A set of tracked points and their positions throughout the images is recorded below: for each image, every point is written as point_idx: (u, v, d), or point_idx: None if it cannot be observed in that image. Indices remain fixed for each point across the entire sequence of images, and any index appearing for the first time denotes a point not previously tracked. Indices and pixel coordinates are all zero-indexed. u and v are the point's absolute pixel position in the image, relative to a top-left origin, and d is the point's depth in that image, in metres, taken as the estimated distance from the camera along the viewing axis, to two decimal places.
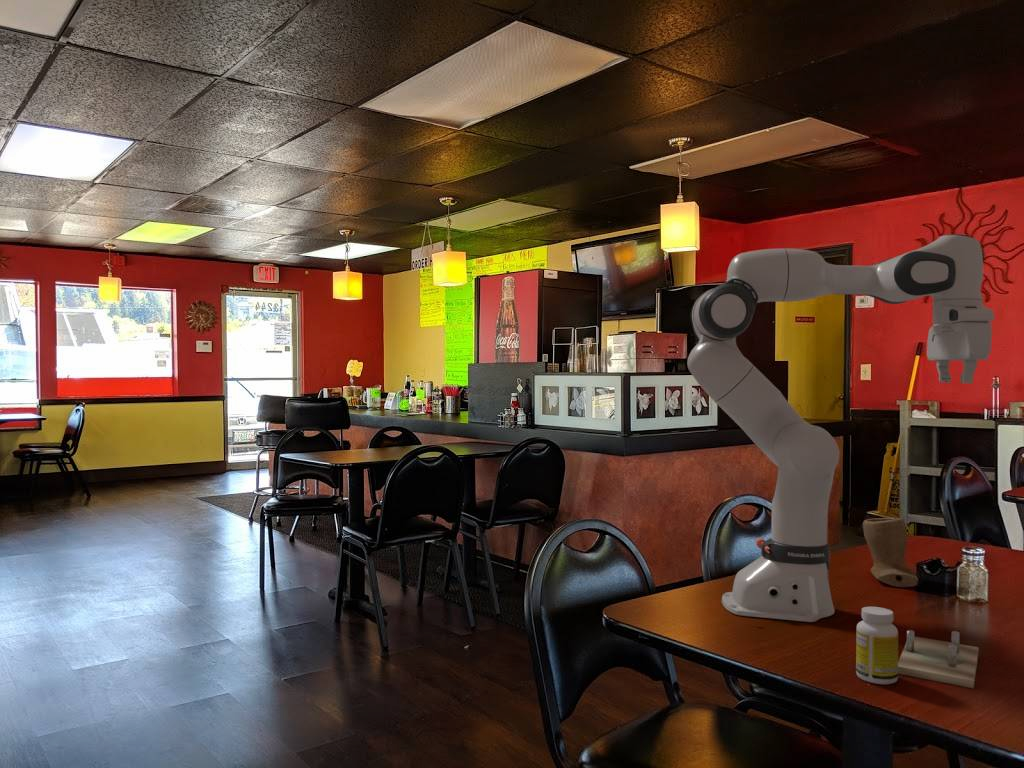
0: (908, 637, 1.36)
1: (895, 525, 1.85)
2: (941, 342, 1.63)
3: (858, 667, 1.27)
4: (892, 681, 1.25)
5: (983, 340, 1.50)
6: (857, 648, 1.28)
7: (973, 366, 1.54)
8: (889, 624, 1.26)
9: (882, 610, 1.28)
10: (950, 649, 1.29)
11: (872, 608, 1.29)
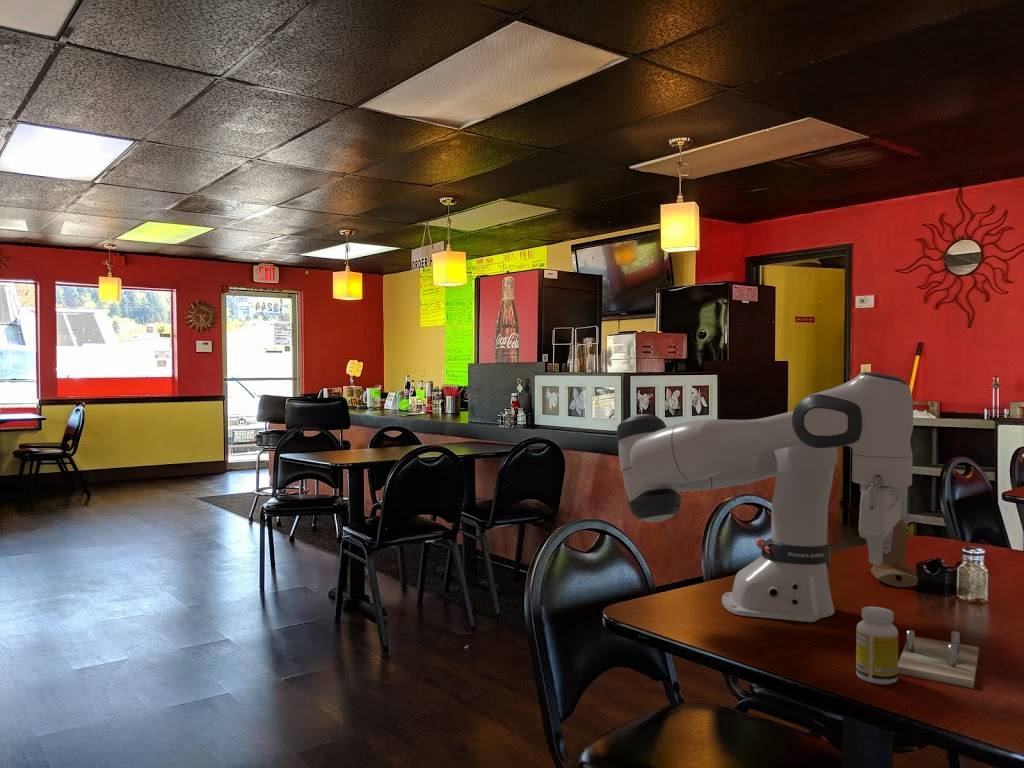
0: (908, 637, 1.36)
1: (895, 525, 1.85)
2: (890, 509, 1.24)
3: (858, 667, 1.27)
4: (892, 681, 1.25)
5: None
6: (857, 648, 1.28)
7: None
8: (889, 624, 1.26)
9: (882, 610, 1.28)
10: (950, 649, 1.29)
11: (872, 608, 1.29)
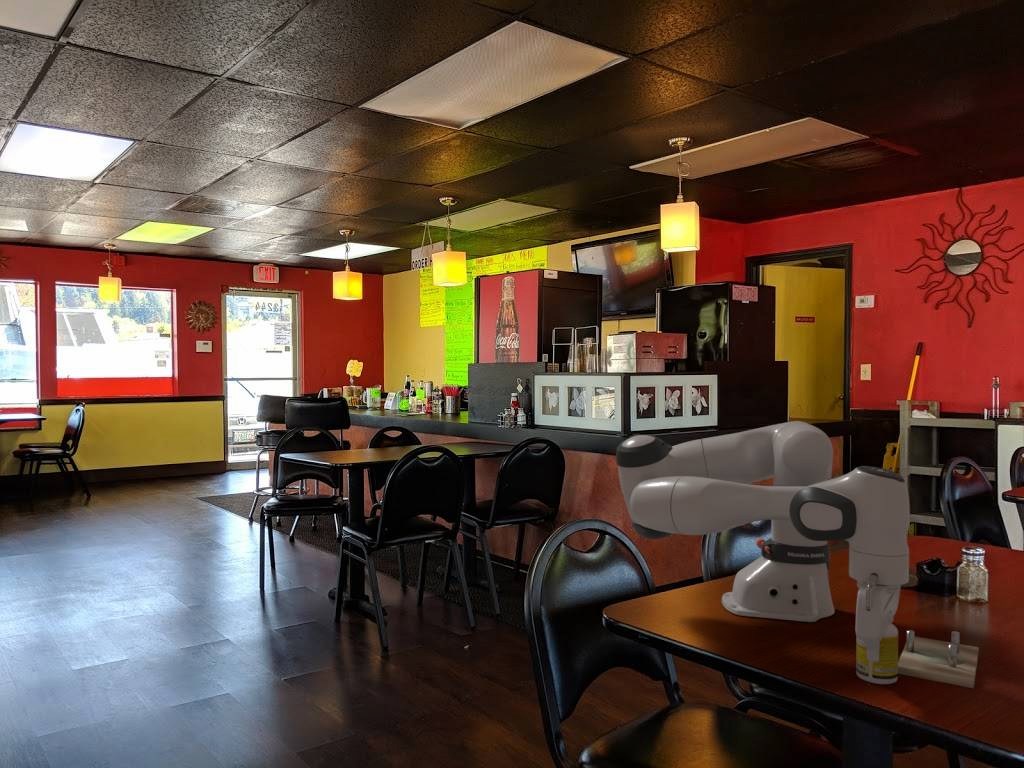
0: (908, 637, 1.36)
1: None
2: (887, 607, 1.24)
3: (858, 667, 1.27)
4: (892, 681, 1.25)
5: None
6: (857, 648, 1.28)
7: None
8: (889, 624, 1.26)
9: None
10: (950, 649, 1.29)
11: None
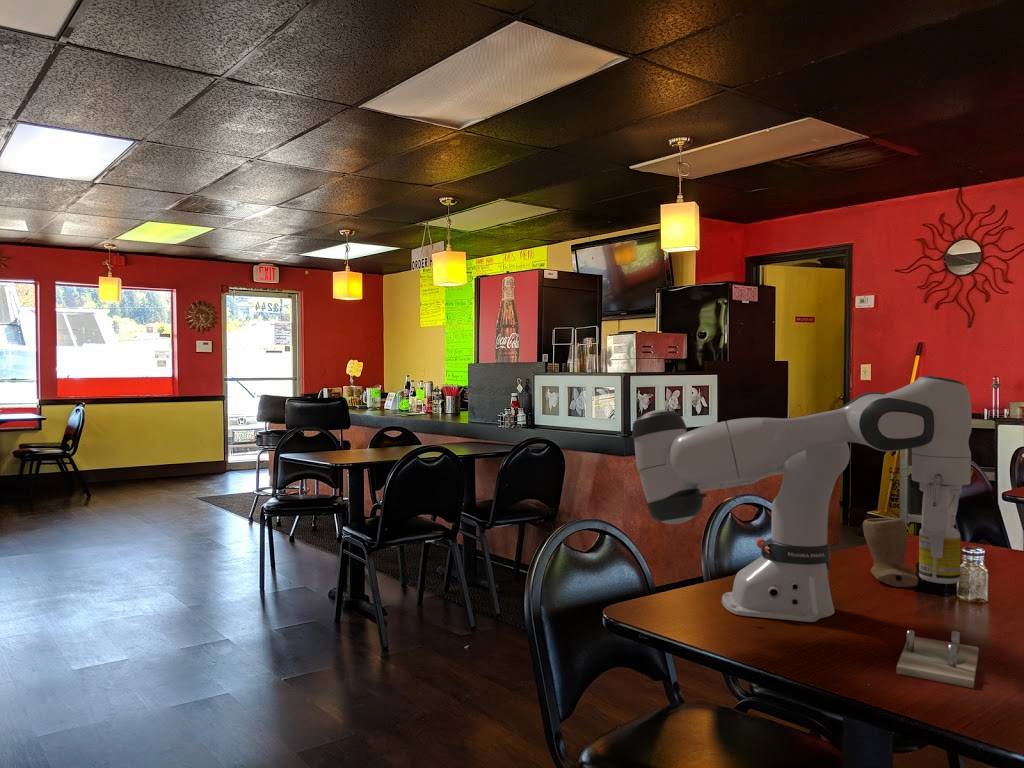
0: (908, 637, 1.36)
1: (895, 525, 1.85)
2: (950, 507, 1.30)
3: (922, 569, 1.33)
4: (955, 580, 1.31)
5: None
6: (920, 551, 1.34)
7: None
8: (952, 527, 1.32)
9: None
10: (950, 649, 1.29)
11: None
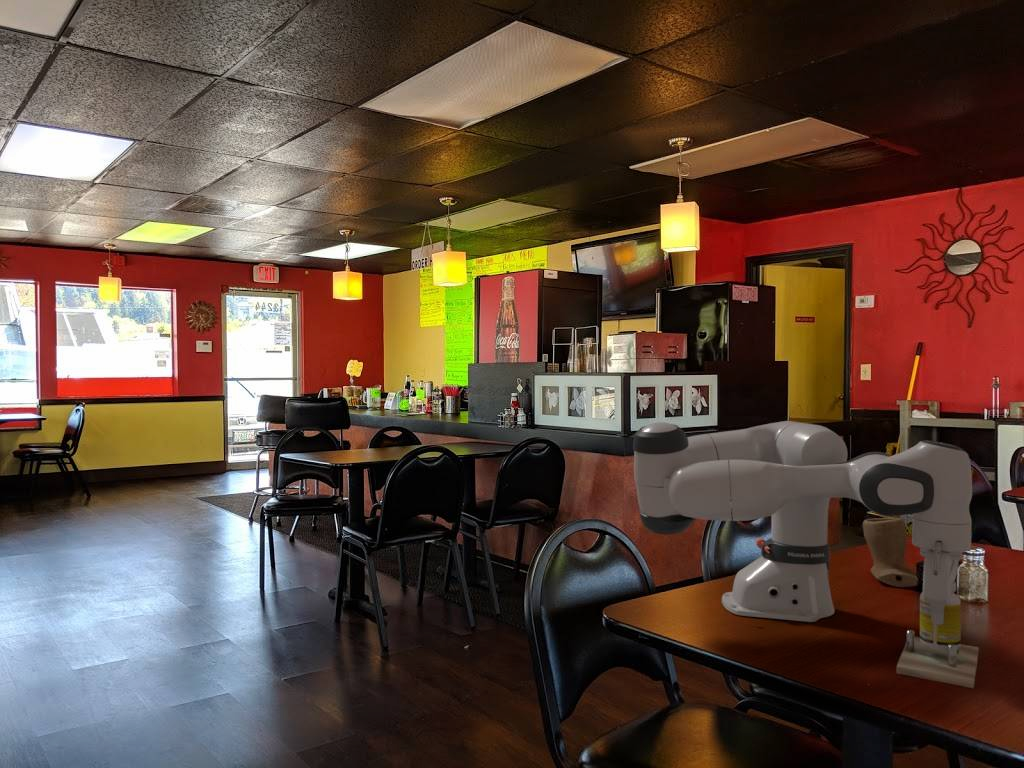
0: (908, 637, 1.36)
1: (895, 525, 1.85)
2: (951, 573, 1.31)
3: (923, 634, 1.34)
4: None
5: None
6: (921, 617, 1.34)
7: None
8: (952, 593, 1.32)
9: None
10: (950, 649, 1.29)
11: None
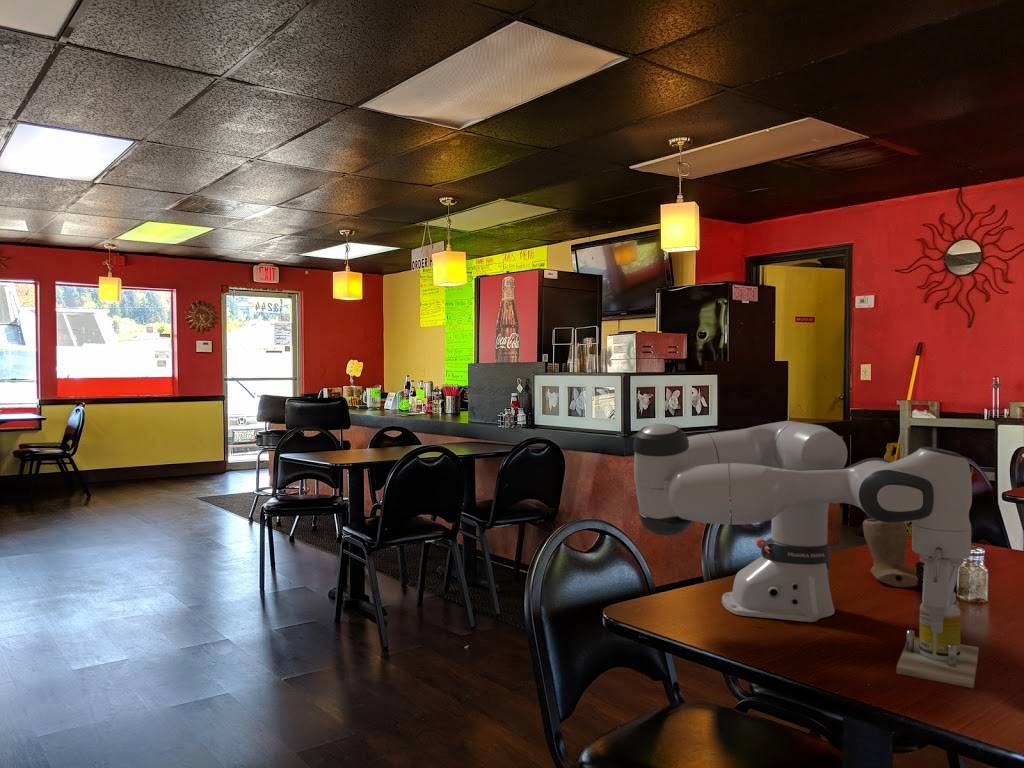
0: (908, 637, 1.36)
1: (895, 525, 1.85)
2: (951, 580, 1.31)
3: (922, 645, 1.34)
4: None
5: None
6: (921, 627, 1.34)
7: None
8: (952, 604, 1.32)
9: None
10: (950, 649, 1.29)
11: None
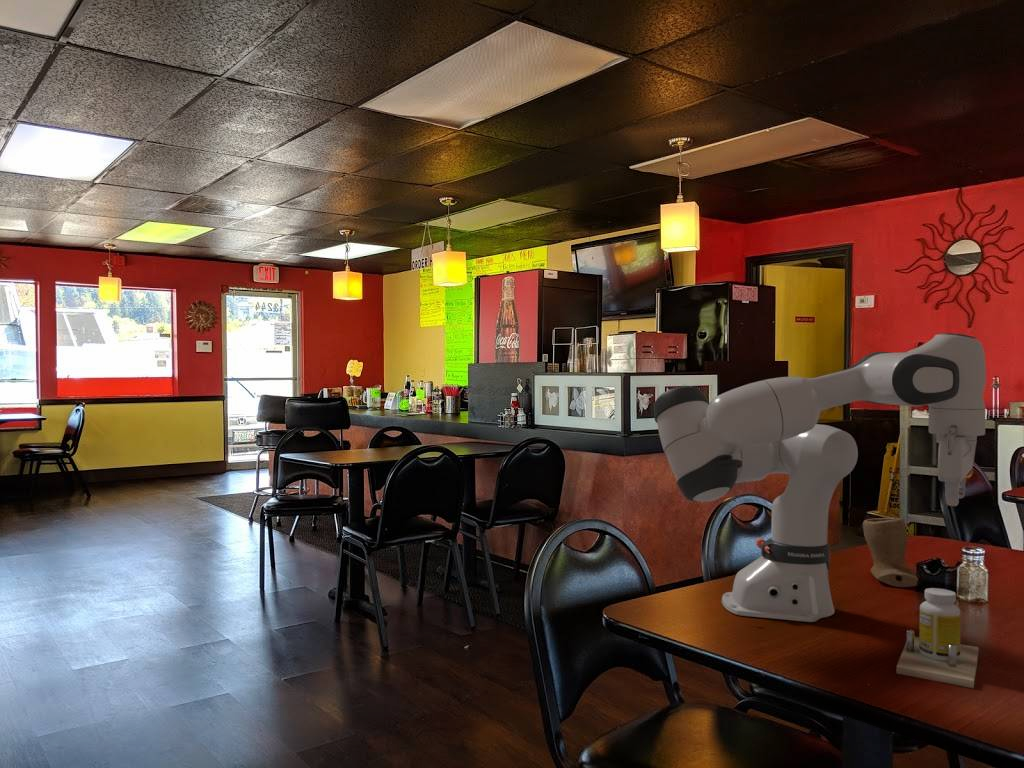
0: (908, 637, 1.36)
1: (895, 525, 1.85)
2: (965, 457, 1.37)
3: (922, 645, 1.34)
4: None
5: None
6: (921, 627, 1.34)
7: None
8: (952, 604, 1.32)
9: (945, 591, 1.34)
10: (950, 649, 1.29)
11: (935, 589, 1.35)
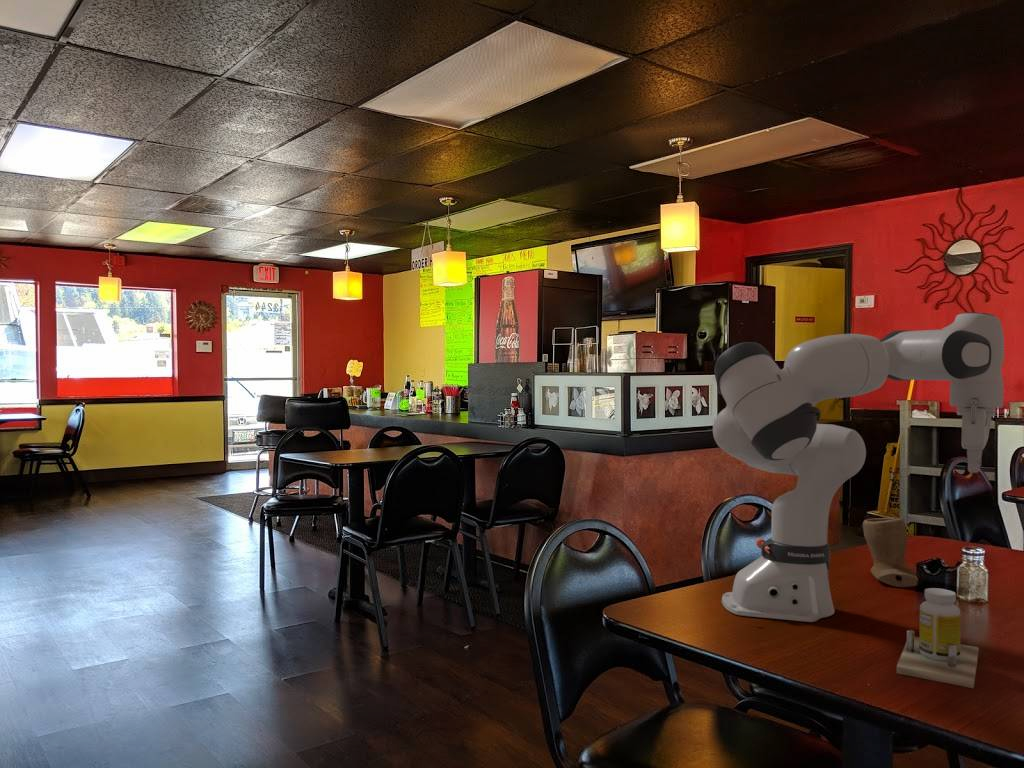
0: (908, 637, 1.36)
1: (895, 525, 1.85)
2: (985, 427, 1.48)
3: (922, 645, 1.34)
4: None
5: None
6: (921, 627, 1.34)
7: None
8: (952, 604, 1.32)
9: (945, 591, 1.34)
10: (950, 649, 1.29)
11: (935, 589, 1.35)
